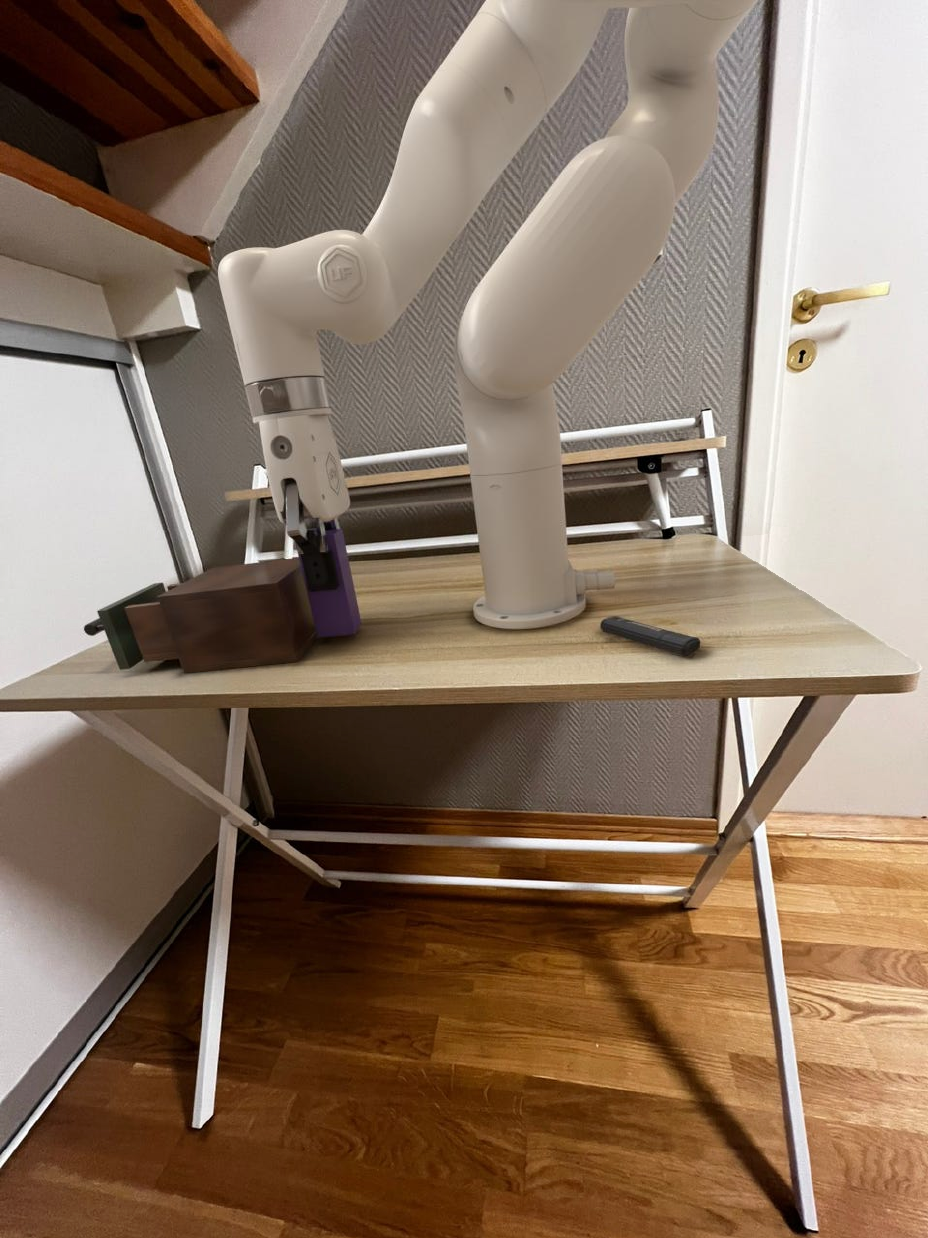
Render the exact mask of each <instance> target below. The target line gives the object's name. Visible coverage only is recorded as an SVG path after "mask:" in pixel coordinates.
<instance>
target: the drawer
mask: <svg viewBox="0 0 928 1238" xmlns="http://www.w3.org/2000/svg"><path fill="white" fill-rule="evenodd" d="M183 583H184V582H180V583H179V582H178V583H172V584H168V585H167V586H166V587H165V585H164V582H155V583H152V584H150V585H148V586H146V587H144V588H142V589H140V590H137V591H136V592H133V593H131V594H129V595H127V596H125V597H122V598H120V599H119V600H116V601H115V602H113V603H111V604H109V605H106V606H104V607H102V608H100V609H98V610H96V612H97V615H98V618H96V619H94V620H92V621H90V622H89V623H86V624H85V625H84V627H83V631H84V633H85V634H86V635H87V636H90V637H93V636H94V637H95V636H96V635H98V634H100V633H102V632H104V633H105V636H106V639H107V641H108V642H109V645H110V649H111V651H112V654H113V657H114V658H115V662H116V663H117V666H118V669H119V670H120V671H121V670H122V671H123V670H130V669H132V668H134V666H136V665H138V664H139V663H140V662H142V661H144V663H151V662H159V661H161V662H162V661H168V660H169V661H170V660H177V659H178V660H179V658H178V655H177V652H176V649H175V646H174V644H173V641H172V638H171V635H170V632H169V629H168V626H167V623H166V620H165V617H164V615H163V612H162V609H161V606H160V603H159V600H158V596H160V595H162V594H163V593H165V592H167V591H169V590H171V589H173V588H175V587H177V586H179V585H181V584H183ZM166 588H167V589H166Z"/></svg>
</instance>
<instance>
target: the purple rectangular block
mask: <svg viewBox="0 0 928 1238" xmlns="http://www.w3.org/2000/svg"><path fill="white" fill-rule="evenodd" d="M314 533H315V534H316V536H317V533H316V532H314ZM325 533H326V539H327V544H328V551H332V552H333V557H334V562H335V566H336V571H337V576H338V580H339V587H338V588H337V589H335V590H326V591H316V592H311V591H309V589H308V585H307V580H306V576H305V572H304V568H303V563H302V559H301V556H300V555H299V553H298V548H297V543H296V542H295V541H294V544H295V547H296V552H297V554H298V555H297V556H298V558H299V560H300V565H301V569H302V573H303V577H304V581H305V586H306V590H307V594H308V598H309V602H310V607H311V611H312V615H313V619H314V623H315V628H316V632H317V636H318V637H317V639H318V638H319V639H320V638H328V637H336V636H337V637H339V636H347V635H348V636H349V635H355V634H356V633H357V631H358V630H359V629H360V627H361V626H362V625H363V624H362V619H361V614H360V609H359V603H358V599H357V595H356V590H355V584H354V580H353V575H352V570H351V565H350V560H349V555H348V551H347V547H346V541H345V536H344V530H343V528H340V529H335V530H327V531H325Z"/></svg>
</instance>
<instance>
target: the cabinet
mask: <svg viewBox="0 0 928 1238" xmlns="http://www.w3.org/2000/svg"><path fill="white" fill-rule="evenodd" d="M182 583H183V584H181V585H179V586H177V587H175V588H173V589H171V590H169V591H168V590H166V592H165V593H163V594H162V595H160V596H158V600H159V603H160V606H161V609H162V612H163V615H164V617H165V620H166V623H167V626H168V629H169V632H170V635H171V638H172V641H173V644H174V646H175V649H176V652H177V655H178V658H179V659H178V660H179V663H180V664H179V665H180V667H181V669H182V672H183V674H190V673H201V672H209V671H219V670H228V669H239V668H249V667H259V666H268V665H278V664H287V663H298V662H299V661H300V659H302V657H303V656H304V655H305V654H306V653H307V651H308V650H309V649H310V647H311V646H312V645H313V643H314V642H315V641H316V640H317V639H318V636H317V632H316V628H315V623H314V619H313V615H312V611H311V607H310V602H309V598H308V594H307V590H306V586H305V581H304V577H303V573H302V569H301V565H300V560H299V557H291V558H283V559H276V560H267V561H260V562H259V561H257V562H250V563H249V562H248V563H242V564H235V565H233V564H232V565H226V566H215V567H211V568H209V569H207V570H206V571H204V572H201V573H199V574H198V575H196V576H194V577H192V578H190V579H189V580H187V581H185V582H182Z"/></svg>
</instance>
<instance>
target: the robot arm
mask: <svg viewBox="0 0 928 1238" xmlns="http://www.w3.org/2000/svg"><path fill="white" fill-rule="evenodd" d="M758 1H759V0H485V1H484V2H483V4H482V5H481V7H480V8H479V10H477V12H476V14H475V16H474V17H473V18H472V20H471V21H470V23H469V24H468V26H467V27H466V29H465V30H464V31H463V33H462V34H461V36H460V37H459V39H458V40H457V41H456V43H455V44H454V45H453V47H452V49H451V50H450V51H449V53H448V55H447V56H446V57H445V58H444V60H443V61H442V63H441V64H440V65H439V67H438V68H437V69H436V71H434V72H435V73H434V74H433V75H432V77H431V78H430V79H429V81H428V82H427V84H426V85H425V87H423V89H422V91H421V92H420V93H419V95H418V96H417V97H416V100H415V102H414V104H413V106H412V108H411V111H410V114H409V115H408V118H407V120H406V124H405V127H404V130H403V133H402V137H401V140H400V144H399V149H398V152H397V157H396V161H395V165H394V168H393V171H392V175H391V177H390V181H389V183H388V186H387V189H386V191H385V193H384V195H383V197H382V200H381V202H380V204H379V206H378V208H377V209H376V212H375V213H374V215H373V217H372V219H371V220H370V222H369V224H368V225H367V226H366V228H365V229H364V231H363V233H362V234H361V233H359V232H357V231H353V230H349V229H348V230H347V229H335V230H329V231H325V232H321V233H318V234H315V235H312V236H309V237H307V238H304V239H302V240H299V241H295V242H293V243H289V244H286V245H284V246H279V247H267V246H266V247H265V246H264V247H263V246H262V247H261V246H260V247H259V246H258V247H257V246H256V247H247V248H242V249H238V250H235V251H232V252H230V253H228V254H226V255H225V256H224V257H222V259H221V260H220V262H219V264H218V267H217V268H218V269H217V277H218V284H219V288H220V292H221V296H222V300H223V305H224V308H225V312H226V316H227V321H228V325H229V329H230V333H231V337H232V341H233V345H234V349H235V353H236V357H237V360H238V364H239V369H240V372H241V377H242V380H243V381H242V382H243V385H244V390H245V394H246V398H247V402H248V406H249V411H250V414H251V419H252V423H253V424H254V425H259V433H260V434H259V435H260V440H261V446H262V452H263V458H264V463H265V464H264V465H265V469H266V475H267V479H268V480H267V481H268V484H269V489H270V493H271V497H272V501H273V504H274V505H273V506H274V508H275V512H276V515H277V518H278V520H279V521H280V523H282V524H283V525H284V526H286V533H287V536H288V537H289V538H291V539H292V540H293V541H294V543H295V542H296V543H297V548H298V552H297V554H298V553H299V555H300V556H301V559H302V563H303V568H304V572H305V576H306V580H307V585H308V589H309V591H311V592H316V591H326V590H335V589H337V588H338V587H339V580H338V576H337V571H336V566H335V562H334V557H333V552H332V551H328V544H327V539H326V533H325V531H327V530H335V529H341V527H340V519H339V517H340V516H341V515H342V514H344V513H346V512H347V511H348V510H349V508H350V506H351V499H350V494H349V489H348V485H347V481H346V477H345V473H344V470H343V469H344V467H343V465H342V460H341V457H340V452H339V448H338V444H337V441H336V438H335V434H334V431H333V428H332V425H331V422H330V419H329V417H328V416H332V415H333V410H332V406H331V400H330V396H329V390H328V385H327V379H326V376H325V371H324V365H323V362H322V361H323V360H322V355H321V350H320V345H319V339H318V335H317V334H318V331H323V330H327V331H330V332H333V334H334V335H336V336H337V337H338V338H340V339H341V340H343V341H345V342H348V343H349V344H354V345H368V344H371V343H374V342H376V341H378V340H380V339H381V338H382V337H384V336H385V335H386V334H387V333H388V332H389V331H390V330H391V328H392V327H393V326H394V325H395V324H396V322H397V321H398V320H399V319H400V318H401V316H402V315H403V313H404V312H405V311H406V309H407V308H408V307H409V305H410V304H411V303H412V301H413V300H414V299H415V298H416V296H417V295H418V294H419V292H420V291H421V290H422V288H423V287H424V285H425V284H426V283H427V281H428V280H429V278H431V276H432V274H433V273H434V272H435V270H436V268H437V267H438V265H439V264H440V263H441V261H442V260H443V258H444V256H446V254H447V253H448V251H449V249H450V248H451V246H452V245H453V243H454V242H455V240H456V239H457V238H458V237H459V235H460V234H461V233H462V231H463V230H464V228H466V226H467V224H468V223H470V220H471V219H472V217H473V216H474V214H475V213H476V211H477V210H478V208H479V206H480V204H481V203H482V201H483V200H484V198H486V196H487V193H489V192H490V190H491V188H492V187H493V186H494V184H495V183H496V182H497V180H498V179H499V178H500V176H501V175H502V174H503V173H504V171H505V170H506V168H507V167H508V166H509V164H511V161H512V160H513V159H514V157H515V156H516V155H517V153H518V152H519V151H520V150H521V148H522V147H523V146H524V144H525V143H526V142H527V140H528V139H529V138H530V137H531V135H532V133H533V132H534V131H535V129H537V127H538V126H539V125H540V123H541V122H542V120H543V119H544V118H545V117H546V116H547V114H548V113H549V111H551V109H552V108H553V106H554V105H555V104H556V102H558V100H559V98H560V97H561V96H562V95H563V93H564V92H565V90H566V89H567V88H568V86H569V85H570V84H571V83H572V81H573V80H574V78H575V77H576V76H577V74H578V73H579V71H580V69H581V68H582V66H583V64H584V63H585V61H586V60H587V57H588V56H589V54H590V52H591V50H592V48H593V46H594V44H595V42H596V39H597V37H598V35H599V32H600V30H601V28H602V25H603V23H604V21H605V18H606V16H607V14H608V12H609V10H610V9H628V11H627V12H628V13H627V18H626V21H625V30H624V65H625V71H626V78H627V88H628V89H627V90H628V91H627V92H628V94H627V96H628V97H627V103H626V106H625V109H623V111H622V113H621V114H620V115H619V116H618V118H617V119H616V120H615V122H614V123H613V124H612V126H611V127H610V128H609V130H608V132H607V133H606V135H605V136H604V138H601V139H598V140H596V141H594V142H592V143H590V144H589V145H587V146H585V147H584V148H583V149H582V150H580V151H579V152H578V153H577V154H576V155H575V156H574V157H573V158H572V159H571V160H570V161H569V162H568V164H567V165H566V166H565V167H564V168H563V170H562V171H561V172H560V173H559V175H558V176H557V178H556V179H555V180H554V181H553V183H552V184H551V186H550V187H549V188H548V190H547V191H546V193H545V194H544V195H543V196H542V197H541V199H540V200H539V202H538V203H537V204H536V206H535V207H534V209H533V210H532V211H531V212H530V214H529V215H528V216H527V218H526V220H525V221H524V222H523V223H522V225H521V226H520V227H519V228H518V230H517V232H516V233H515V234H514V235H513V236H512V238H511V240H510V241H509V242H508V244H507V245H506V247H504V249H503V250H502V252H501V253H500V254H499V255H498V257H497V259H496V260H495V261H494V262H493V264H492V265H491V266H490V268H489V269H488V270H487V272H486V273H485V274H484V276H483V277H482V278H481V280H480V281H479V282H478V284H477V285H476V286H475V288H474V290H473V291H472V293H471V295H470V297H469V299H468V301H467V303H466V305H465V307H464V310H463V313H462V314H461V317H460V319H459V322H458V324H457V328H456V331H455V335H454V342H453V369H454V376H455V383H456V388H457V393H458V400H459V405H460V410H461V417H462V423H463V424H462V425H463V428H464V430H463V431H464V437H465V443H466V451H467V459H468V468H469V477H470V485H471V493H472V501H473V509H474V516H475V517H474V519H475V525H476V533H477V540H478V549H479V557H480V564H481V565H480V566H481V573H482V580H483V590H484V595H483V596H481V597H479V598H478V599H477V600H476V601H475V602H474V604H473V606H472V610H473V617H474V619H475V620H476V621H477V622H479V623H481V624H482V625H485V626H488V627H491V628H497V629H504V630H528V629H529V630H530V629H531V630H532V629H539V628H544V627H551V626H555V625H558V624H561V623H565V622H566V621H570V620H572V619H574V618H576V617H577V616H579V615H580V614H581V613H582V612H584V610H585V609H586V606H587V603H586V602H587V600H586V591H592V590H597V591H603V590H611V589H615V588H616V577H615V573H614V570H606V571H599V569H598V568H591V569H590V568H589V569H585V570H577V569H576V568H574V567H573V565H572V563H571V562H570V560H569V550H568V547H569V546H568V535H567V519H566V506H565V505H566V504H565V492H564V491H565V490H564V476H563V452H562V440H561V431H560V429H561V428H560V421H559V415H558V408H557V402H556V397H555V392H554V391H555V390H554V385H553V383H554V382H556V381H557V380H558V379H560V377H561V376H562V375H563V374H564V373H565V372H566V371H567V370H568V369H569V367H571V366H572V364H573V363H574V362H575V361H576V359H577V358H578V357H579V356H580V355H581V354H582V353H583V351H584V350H585V349H586V348H587V347H588V345H589V344H590V343H591V341H592V340H593V339H594V338H595V337H596V336H597V335H598V333H599V332H600V331H601V330H602V328H603V327H604V326H605V324H607V323H608V321H609V320H610V319H611V317H613V315H614V314H615V313H616V311H617V310H618V309H619V308H620V306H621V305H622V304H623V302H624V301H625V300H626V299H627V298H628V297H629V295H630V294H631V293H632V292H633V291H634V289H635V288H636V287H637V286H638V284H639V283H641V280H643V278H644V277H645V276H646V274H647V273H648V272H649V271H650V269H651V268H652V266H653V265H654V263H655V262H656V260H657V259H658V257H659V255H660V254H661V252H662V251H663V248H664V246H665V244H666V242H667V240H668V237H669V235H670V233H671V228H672V225H673V221H674V215H675V207H676V205H677V204H678V202H679V201H680V200H681V198H682V197H683V196H684V194H686V192H687V190H688V189H689V188H690V187H691V185H692V184H693V183H694V181H695V180H696V178H697V177H698V176H699V174H700V172H701V171H702V169H703V167H704V166H705V165H706V162H707V160H708V159H709V156H710V154H711V152H712V150H713V148H714V145H715V143H716V142H715V141H716V138H717V133H718V127H719V126H718V125H719V117H720V116H719V114H720V92H719V91H720V90H719V82H718V73H717V72H718V71H717V59H718V54H719V52H720V51H721V50H722V48H724V46H725V44H726V43H727V41H728V40H729V39H730V38H731V36H732V35H733V34H734V32H735V31H736V30H737V28H738V27H739V25H740V24H741V23H742V22H743V20H744V19H745V18H746V16H747V15H748V14H749V12H751V10H752V9H753V8H754V6H755V5H756V3H758ZM306 519H308V521H309V522H305V520H306ZM314 532H316V533H317V536H316V534H315V533H314ZM297 548H296V549H297Z"/></svg>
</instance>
